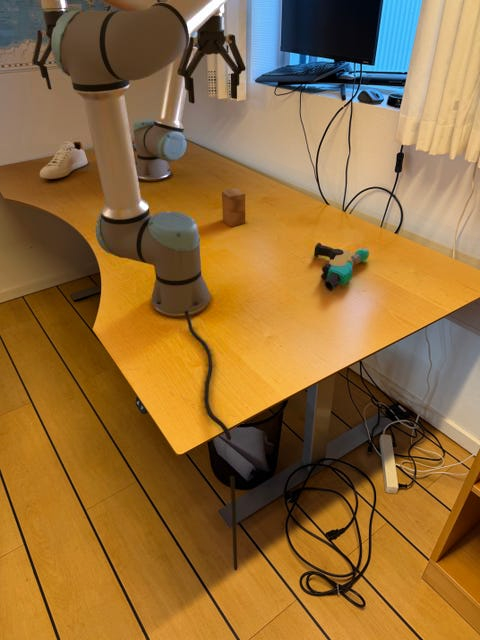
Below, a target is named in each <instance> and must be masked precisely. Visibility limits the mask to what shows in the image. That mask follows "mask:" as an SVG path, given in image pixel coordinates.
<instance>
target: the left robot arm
mask: <svg viewBox="0 0 480 640" xmlns="http://www.w3.org/2000/svg"><path fill="white" fill-rule="evenodd" d="M98 1H100V2H101V3H103V4H106V5H108V6H111V7H112V8H115V9H117V10H118V11H141V10H146V9H148V8H150V7H151V6H152V5H154V4H155V3H158V2H167V1H168V0H98ZM40 4H41V9H43V10H44V11H43V12H42V14H43V18H44V23H45V24H44V25H45V30H41V29H36V31H35V33H36V41H35V46H34V49H33V54H32V59H31V63H32V64H33V65H34V66H38V67H39V70H40V76H41V77H42V79H45V82H46V86H47V89H48V90H49V91H50V90H52V85H51V80H50V75H49V71H48V68H47V65H45V64H46V62H47V60H48V58H49V56H50V54H52V45H51V41H52V33H53V29H54V27H56V23H57V21H58V19H59V18H60V17H61V16H62V15H64V14H65V13H67V12H69V10H68V9H69V5H68V1H67V0H40ZM45 36H47V37H48V38H49V41H48V43H47V45H46V48H45V49H44V51H43V53H42V55H41V57H40V52H41V48H42V43H43V39H45ZM191 37H194V38H196V37H197V31H196V32H195V33H194V34H193V35H192V36H191ZM198 48H199V46H198V44H197V42H196V43H195V46H193V50H192V53H191V56H190V59H189V62H188V65H189V64H190V62H191V60H192V59H193V57H194V55H195V54H196V51H197V49H198ZM183 53H184V52H183ZM183 53H182V54H181V55H180V56H179V57H178V58H177V59H176V60H174V61H173V62H172V63H170V64H169V65H168V66H166V70H165V71H166V72H165V77H164V84H163V90H162V95H161V103H160V108H159V114H158V117H156V118H144V119H140V120H136V121H134V122H133V124H132V128H133V130H132V132H133V137H134V142H135V144H136V149H135V151H136V158H137V160H136V161H135V164H136V170H137V176H138V181H140V182H146V183H157V182H162V181H166V180H168V179H170V178H171V177H172V169H171V167H170V165H169V163H173V162H176V161H179V160H180V159H181V158H182V157H183V156H184V154H185V152H186V150H187V140H186V138H185V136H184V131H185V127H184V125H183V123H182V120H183V115H184V109H185V103H186V98H187V93H188V91H187V90H186V89H185V82H184V77H183V76H181V75H178V74H177V71H178V68H179V65H180V62H181V59H182V56H183ZM39 58H40V59H39ZM188 65H187V67H188ZM186 69H187V68H186Z"/></svg>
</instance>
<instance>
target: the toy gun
mask: <svg viewBox="0 0 480 640" xmlns="http://www.w3.org/2000/svg"><path fill="white" fill-rule="evenodd" d="M313 256H314V257H315V258H318V257H319V256H320V257H327V258H329V261H328V262H326V263H324V265H323V266H322V267H321V271H322V273H321V275H320V278H321V280H322V281H324V287H325V289H327V291H329V292H333V291H334V290H335V288H337V287H338V286H339V285H341V286H343V285H344V286H345V285H346V284H347V283H349V282H350V281H351V280H352V278H353V275H354V271H353V267H355V266H357V265H359V263H364V262H365V261H367V259H368V258H369V257H370V250H369V249H367V248H358V249H357V250H355V252H354V254H352V252H351V251H350V250H347V249H342V248H341V249H340V248H333V247H331V246H327V245H323V244H322V243H321V242H317V243H316V244H315V245H314V252H313Z"/></svg>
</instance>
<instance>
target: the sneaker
mask: <svg viewBox="0 0 480 640" xmlns="http://www.w3.org/2000/svg"><path fill="white" fill-rule="evenodd" d="M88 163H89V162H88V158H87V155H86V151H85V149H84V146H83V143H82V142H81V141H73V143H72V142H71V141H64V142H62V143H61V145H60V147H59V149H58V150H56V152H55V155H54V156H53V158H52V159H51V160H50V162H48V163H47V164H46V165H44V166H43V167H42V168H41V170H40V171H39V177H40V178H41V179H45V180H46V179H47V180H53V179H54V180H56V179H61V178H64V177H66V176H68V175H70V173H71V172H73V171H76V170H77V169H80V168H83V167H85V166H87V165H88Z"/></svg>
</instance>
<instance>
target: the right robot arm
mask: <svg viewBox="0 0 480 640" xmlns="http://www.w3.org/2000/svg"><path fill="white" fill-rule="evenodd" d="M166 1H167V2H158V3H155V4H154V5H152V6H151V7H150V8H148V9H146V10H141V11H121V10H118V11H117V10H115V11H113V10H91V9H90V10H89V9H80V10H72V11H68V12H67V13H65V14H64V15H62V16H61V17H60V18H59V19H58V21H57V23H56V27H54V29H53V33H52V41H51V45H52V51H51V54H52V57H53V60H54V63H55V64H56V66H57V68H59V69H60V71H61V72H62V73H63V74H65V75H66V76H67V77H70V80H71V85H72V88H73V91H74V92H75V93H76V94H78V95H79V97H81V98H82V100H83V104H84V110H85V115H86V118H87V123H88V128H89V132H90V138H91V142H92V147H93V152H94V156H95V160H96V165H97V170H98V175H99V179H100V184H101V188H102V189H101V190H102V193H103V197H104V204H103V205H102V207H101V208H100V213H99V214H98V217H97V219H96V223H97V225H95V228H94V229H95V237H96V241H97V243H98V244H99V246H100V248H102V250H103V251H105V253H108V254H110V255H113V256H115V257H118V258H120V259H127V260H130V261H131V260H132V261H135V262H139V263H143V264H148V265H152V266H153V268H154V274H155V275H154V276H155V281H154V284H153V290H152V294H151V305H152V308H153V310H154V311H155V312H156V313H157V314H159V315H160V316H163V317H167V318H171V319H183V318H185V319H186V322H187V326H188V329H189V333H190V334H191V336H192V337H193V338H194V339H196V340H197V341H198V343H200V345H202V347H203V348H204V350H205V352H206V355H207V362H208V363H207V364H208V369H207V374H206V378H205V381H204V382H205V383H204V399H203V401H204V407H205V411H206V413H207V416H208V417H209V419H211V420H212V421H213V422H214V423H216V425H218V426H219V427H220V428H221V430H222V431H223V433H224V435H225V437H226V439H227V441H231V440H232V436H231V433H230V430H229V428H228V427H227V426H226V424H225V423H224V422H223V421H222V420H221V419H220V418H218V417H217V416H216V415H215V414H214V413H213V412H212V410H211V406H210V400H209V399H210V398H209V396H210V382H211V377H212V374H213V359H212V358H213V357H212V353H211V351H210V348H209V347H208V344H207V343H206V342H205V341H204V340H203V338H201V337H200V336H199V335H198V334H197V333H196V332H195V330H194V328H193V323H192V321H191V317H194V316H196V315H199V314H201V313H202V312H204V311H205V310H207V308H208V307H209V306H210V303H211V294H210V290H209V288H208V286H207V284H206V281H205V278H204V277H203V275H202V262H201V261H202V259H201V237H200V233H199V228H198V227H199V226H198V224H197V222H196V221H195V220H194V218H192V217H191V216H189V215H188V214H185V213H183V212H179V211H161V212H157V213H154V214H153V215H152V216H151V212H150V206H149V202H147V201H146V200H144V199H143V198H142V195H141V188H140V184H139V183H140V182H139V180H138V176H137V170H136V164H135V162H136V159H135V152H134V147H133V146H134V145H133V141H132V135H131V128H130V123H129V116H128V111H127V105H126V99H125V93H126V92H127V90H128V89H129V87H130V85H131V84H130V81H138V80H143V79H145V78H148V77H151V76H153V75H155V74H156V73H158V72H160V71H162V70H163V69H165V68H167V66H168V65H169V64H170V63H172V62H173V61H174V60H176V59H177V58H178V57H179V56H180V55H181V54H182V53H183V52H184V53H183V56H182V59H181V62H180V65H179V68H178V71H177V74H178V75H181V76H183V77H184V82H185V89H186V90H187V97H188V103H190V104H195V88H194V87H195V84H194V83H195V82H194V78H193V77H191V76H192V75H193V73H194V72H195V70H196V68H197V67H198V65H199V63H200V62H201V60H202V59H203V57H204V56H206V55H208V56H209V55H210V56H211V55H220V56H221V57H222V59H223V61H224V62H225V63H226V64H227V65H228V67H229V68H230V70H231V71H232V72H231V73H230V98H231V99H233V100H237V99H238V87H239V86H240V82H241V81H240V75H242V72H245V71H246V69H247V68H246V65H245V63H244V60H243V58H242V55H241V52H240V51H239V48H238V46H237V43H236V36H235V34H232V33H228V35H225V17H224V15H223V14H224V13H225V4H226V3H227V2H228V1H229V0H166ZM196 31H197V37H196V38H194V37H191V36H192V35H193V34H194V33H195V32H196ZM196 42H197V44H198V46H199V48H198V49H197V51H196V52H195V53H194V55H193V59H192V60H191V62H190V64H189V65H188V62H189V59H190V56H191V53H192V50H193V46H195V43H196ZM225 43H226V44H228V47H229V49H230V52H231V54H232V56H233V58H232V57H231V56H230V54H229V52H228V51H227V49H226V48H225V47H224V46H225ZM187 65H188V67H187ZM186 68H187V69H186ZM235 482H236V481H235V475H229V483H230V499H231V523H232V525H231V528H232V556H233V557H232V558H233V570H234V571H238V538H237V504H236V503H237V501H236V500H237V499H236V483H235Z"/></svg>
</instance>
